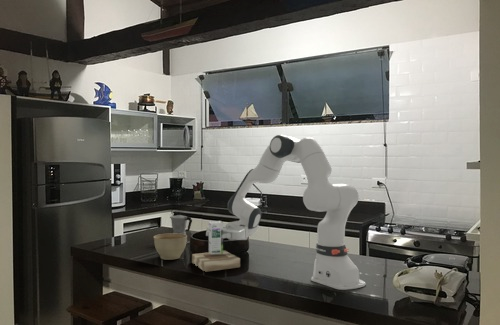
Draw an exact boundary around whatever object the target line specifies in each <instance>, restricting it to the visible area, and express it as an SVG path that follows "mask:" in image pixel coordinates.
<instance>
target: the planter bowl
mask: <svg viewBox="0 0 500 325" xmlns="http://www.w3.org/2000/svg"><path fill="white" fill-rule="evenodd" d="M186 239H187V240H188V235H187V234H186V235H185V234H177V233H173V232H172V233H171V232H170V233H162V234H161V233H160V234H156V235H154V236H153V240H154V241H153V242H154V247H155V250H156V252H157V253H158V255H159V256H160V259H162V260H163V261H164V260H169V261H170V260H178V259H180V258H181V255H182V254H183V252H184V251H185V248H186V245H187V243H186Z"/></svg>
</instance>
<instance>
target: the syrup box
mask: <svg viewBox="0 0 500 325" xmlns="http://www.w3.org/2000/svg"><path fill="white" fill-rule="evenodd" d="M208 227H209V236H208V253H210V254H223V251H224V238H221V234H223V227H224V222H223V221H222V220H214V221H213V220H212V221H211V220H210V221H208Z"/></svg>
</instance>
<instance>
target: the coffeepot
mask: <svg viewBox="0 0 500 325" xmlns="http://www.w3.org/2000/svg"><path fill="white" fill-rule="evenodd" d="M181 213H182V211H178V212H177V215H172V216H169V218H170V219H171V220H170V221H171V226H172V227H171V228H172V230H173V231H172V233H177V234H185V235H187V232H189V231H190V229H191V226H192V223H193V219H192V218H191V216H186V215H182V214H181ZM187 222H188V226H187ZM186 228H187V229H186ZM186 242H187V243H188V238H187V239H186Z"/></svg>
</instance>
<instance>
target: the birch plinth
mask: <svg viewBox="0 0 500 325" xmlns="http://www.w3.org/2000/svg"><path fill="white" fill-rule="evenodd" d="M191 263H192V264H193V265H194V264H195V265H194V266H196V267H197V266H198V268H199V269H200V270H202V271H203V272H204V271H205V272H206V273H207V272H213V271H214V272H215V271H221V270H229V269H231V270H232V269H236V268H238V269H239V268H241V258H240V257H239V256H237V255H235V254H232V253H231V252H228V251H227V250H223V254H210V253H209V252H202V253H201V252H200V253H192V254H191Z"/></svg>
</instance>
